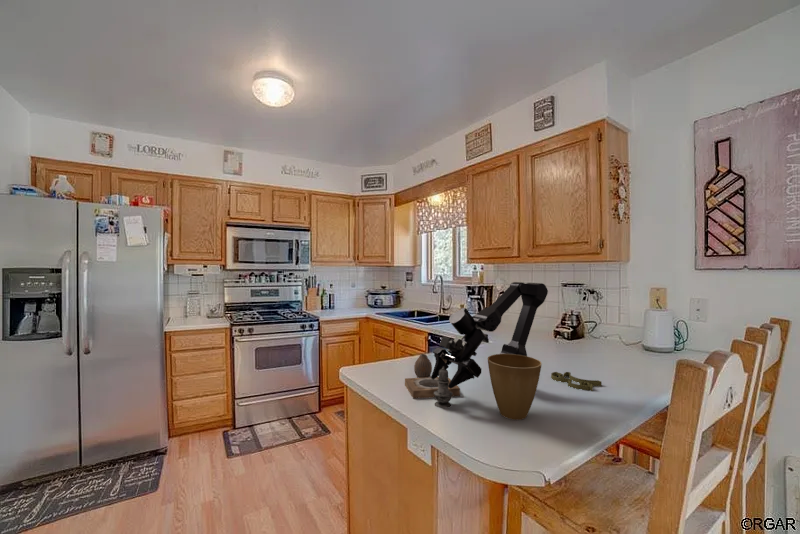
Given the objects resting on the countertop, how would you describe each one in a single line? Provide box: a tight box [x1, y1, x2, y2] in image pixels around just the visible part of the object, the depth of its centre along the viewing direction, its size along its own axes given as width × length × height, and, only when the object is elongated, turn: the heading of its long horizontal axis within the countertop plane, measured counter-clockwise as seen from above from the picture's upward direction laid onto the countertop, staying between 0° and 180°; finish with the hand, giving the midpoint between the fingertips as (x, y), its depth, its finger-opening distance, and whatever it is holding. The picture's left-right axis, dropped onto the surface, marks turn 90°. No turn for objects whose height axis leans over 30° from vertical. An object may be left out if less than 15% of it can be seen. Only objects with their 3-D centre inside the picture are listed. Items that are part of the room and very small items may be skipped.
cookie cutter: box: [550, 371, 603, 392], centre depth 132 cm, size 18×12×2 cm, turn 29°
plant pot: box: [487, 353, 543, 421], centre depth 102 cm, size 15×15×16 cm
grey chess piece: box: [434, 366, 453, 409], centre depth 109 cm, size 6×6×12 cm
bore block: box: [404, 376, 461, 399], centre depth 121 cm, size 16×13×2 cm
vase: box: [413, 353, 433, 378], centre depth 136 cm, size 7×7×9 cm
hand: (440, 382), depth 108 cm, fingers open, 9 cm apart
